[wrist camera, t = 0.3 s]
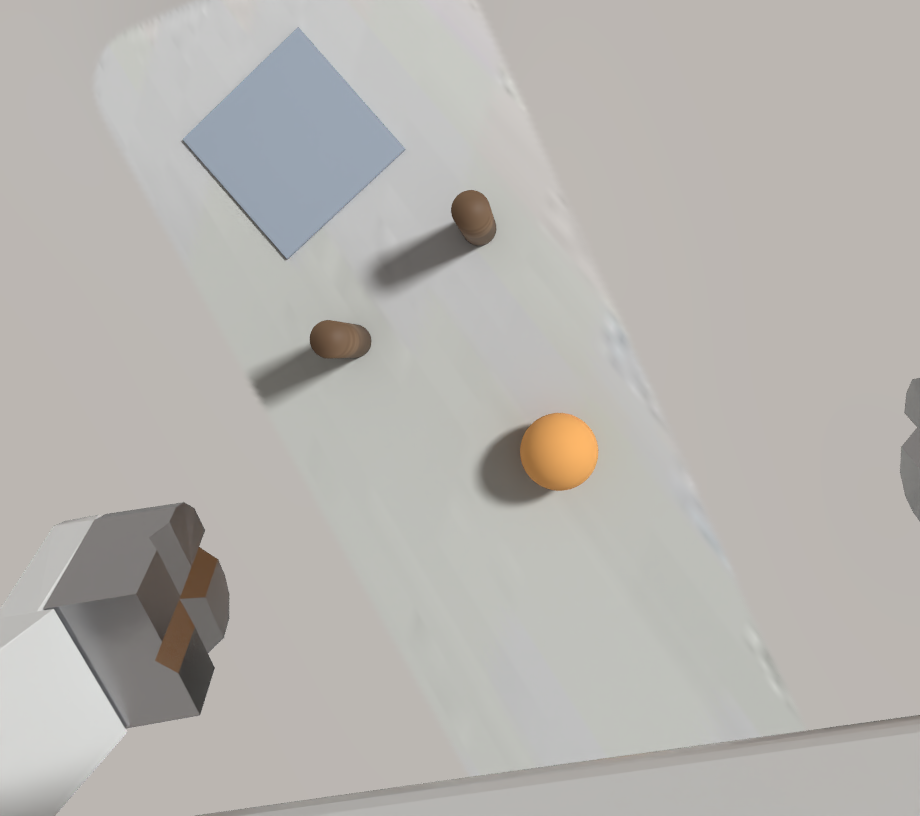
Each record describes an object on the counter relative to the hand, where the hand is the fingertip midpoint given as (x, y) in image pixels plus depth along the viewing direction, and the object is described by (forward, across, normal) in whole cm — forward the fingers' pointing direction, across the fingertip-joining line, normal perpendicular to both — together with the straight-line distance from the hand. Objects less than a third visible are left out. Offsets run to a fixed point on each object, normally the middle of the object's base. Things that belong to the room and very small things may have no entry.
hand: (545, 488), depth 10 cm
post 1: (+49, -12, -20) cm, 55 cm away
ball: (+42, +2, -28) cm, 50 cm away
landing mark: (+56, -14, -7) cm, 58 cm away
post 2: (+52, -1, -14) cm, 54 cm away
